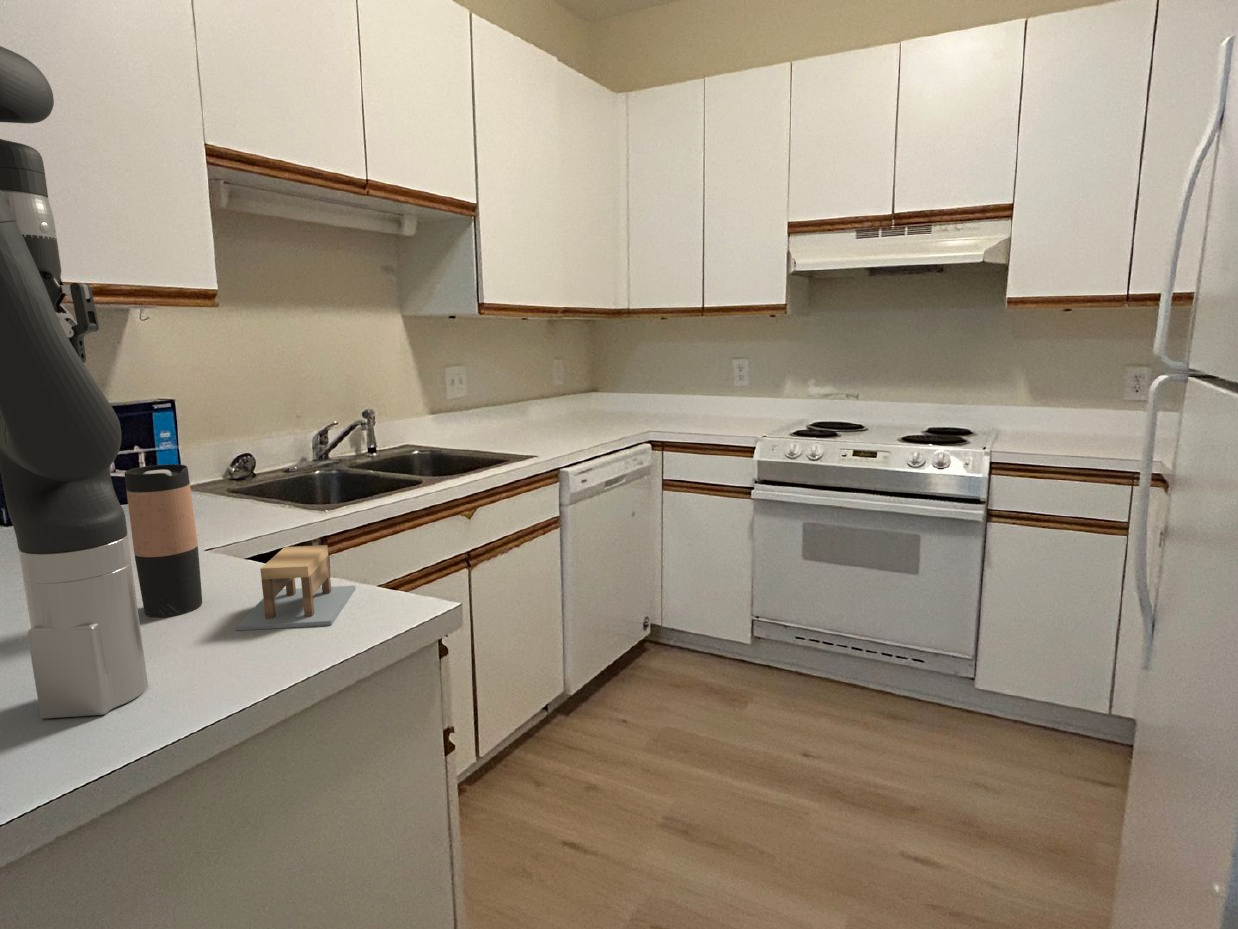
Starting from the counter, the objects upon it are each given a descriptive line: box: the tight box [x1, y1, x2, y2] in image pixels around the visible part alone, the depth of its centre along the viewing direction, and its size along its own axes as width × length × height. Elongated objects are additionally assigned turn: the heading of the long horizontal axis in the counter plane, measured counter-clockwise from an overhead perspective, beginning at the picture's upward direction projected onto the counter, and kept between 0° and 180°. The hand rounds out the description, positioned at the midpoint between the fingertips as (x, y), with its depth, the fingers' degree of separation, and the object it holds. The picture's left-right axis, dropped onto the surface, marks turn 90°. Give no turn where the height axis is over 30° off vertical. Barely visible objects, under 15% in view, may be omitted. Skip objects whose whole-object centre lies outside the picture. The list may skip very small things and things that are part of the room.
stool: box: [260, 544, 332, 619], centre depth 106 cm, size 10×6×7 cm, turn 7°
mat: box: [235, 585, 356, 632], centre depth 106 cm, size 14×12×1 cm
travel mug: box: [124, 463, 203, 618], centre depth 106 cm, size 8×8×20 cm
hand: (38, 368), depth 95 cm, fingers open, 8 cm apart
